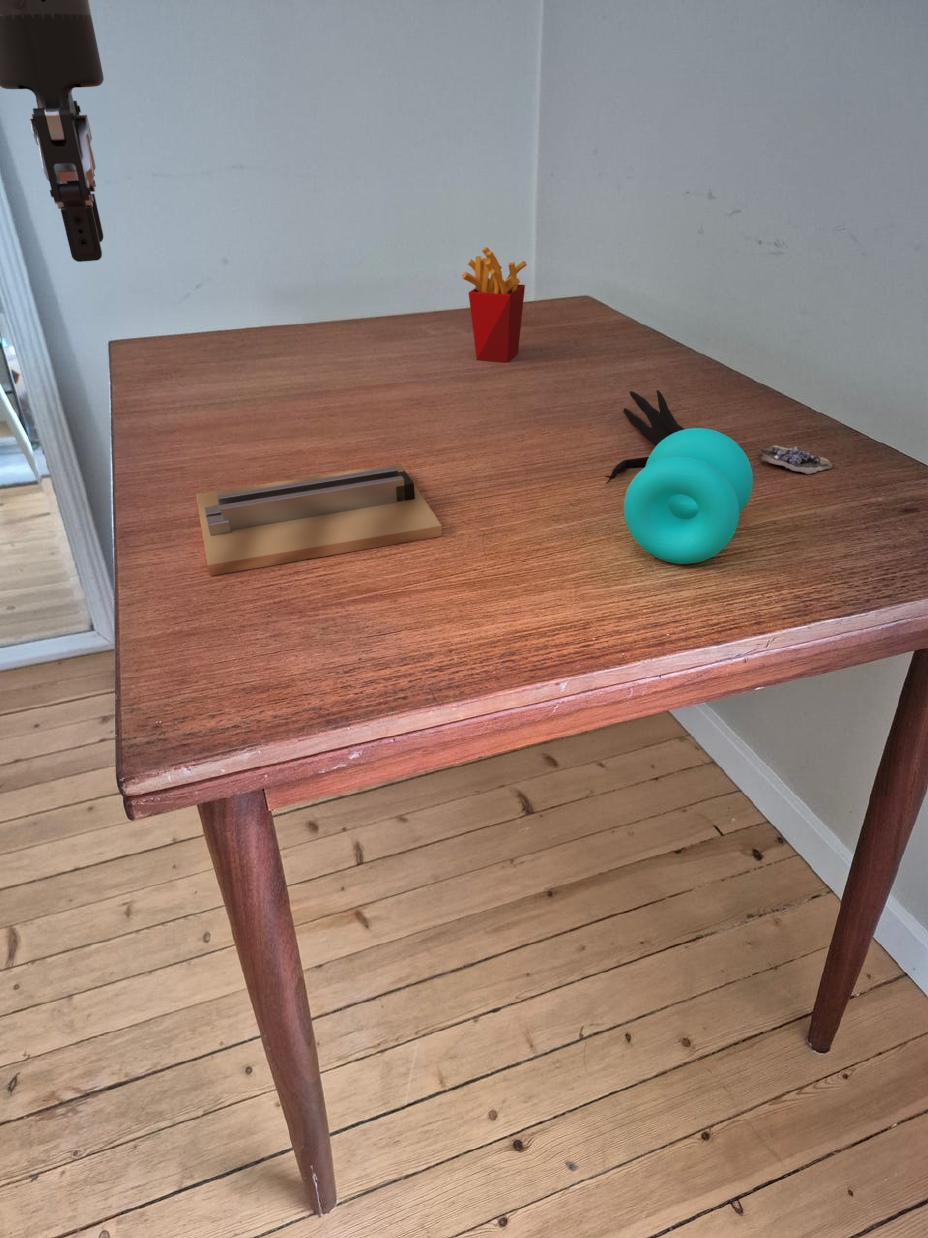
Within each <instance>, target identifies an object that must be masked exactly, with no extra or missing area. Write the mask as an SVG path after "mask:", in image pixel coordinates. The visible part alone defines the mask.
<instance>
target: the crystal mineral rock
mask: <svg viewBox="0 0 928 1238" xmlns="http://www.w3.org/2000/svg"><path fill="white" fill-rule="evenodd" d="M759 450H760V451H758V453H759V454H761V455H762V456H760V457H759V459H760V460H761V461H762V462H767V463H768V464H773V465H778V466H783V467H785V469H789V470H790V471H794V472H796V473H797V472H801V473H804V474H806V475H810V474H814V473H815V474H816V473H818V472H821V471H822V472H823V471H825V470H830V469H833V468H834V464H832V462H831V461H830V460H828V459H827V458H825V457H821V456H817V455H814V454H812V455H811V453H810V452H809V451H808V450H803V451H802V450H800V448H799V447H797V446H795V447H791V446H787V445H781V444H779V445H778V444H775V445H770V446H767V447H762V448H761V447H760V448H759Z"/></svg>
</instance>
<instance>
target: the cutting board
mask: <svg viewBox="0 0 928 1238" xmlns="http://www.w3.org/2000/svg"><path fill="white" fill-rule="evenodd" d="M392 467H396V468H397V470H398V472H402V471H406V470H405V468H404V467H403V465H402V463H394V464H386V465H380V466H379V465H378V466H374V467H367V468H360V469H354V470H346V471H339V472H332V473H326V474H319V475H313V476H307V477H301V478H293V479H287V480H279V481H273V482H266V483H260V484H259V483H258V484H254V485H246V486H240V487H233V488H226V489H220V490H213V491H207V492H199V493H196V494H195V499H196V505H197V510H198V516H199V522H200V528H201V535H202V540H203V546H204V547H203V548H204V553H205V559H206V565H207V570H208V575H209V577H213V576H218V575H224V574H230V573H235V572H241V571H247V570H253V569H259V568H265V567H271V566H276V565H282V564H283V565H284V564H289V563H294V562H301V561H306V560H311V559H317V558H322V557H329V556H334V555H335V556H336V555H340V554H341V555H342V554H346V553H350V552H351V553H352V552H357V551H364V550H370V549H375V548H382V547H387V546H392V545H397V544H398V545H399V544H406V543H410V542H411V543H412V542H416V541H422V540H428V539H433V538H438V537H439V538H440V537H443V525H442V523H441V522H440V521H439V519H438V517H437V516H436V514H435V513H434V512H433V510H432V508H431V507H430V506H429V504H428V503H427V500H426V499H425V498H424V497H423V495H422V494H421V492H420V491H419V489H418V487H417V486H416V484H414V491H415V499H412V500H407V501H401V502H395V503H390V504H384V505H378V506H372V507H366V508H360V509H354V510H348V511H342V512H336V513H330V514H324V515H319V516H313V517H307V518H301V519H295V520H289V521H283V522H277V523H271V524H265V525H259V526H254V527H248V528H242V529H236V530H231V532H230V533H224V534H218V535H212V536H211V535H210V532H209V527H208V523H207V518H206V514H205V509H204V507H207V506H213V505H219V503H218V498H217V495H221V494H228V493H234V492H240V491H247V490H253V489H259V488H266V487H272V486H278V485H285V484H291V483H297V482H303V481H310V480H316V479H322V478H329V477H335V476H341V475H348V474H354V473H360V472H367V471H373V470H379V469H386V468H392Z"/></svg>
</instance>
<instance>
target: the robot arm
mask: <svg viewBox="0 0 928 1238" xmlns="http://www.w3.org/2000/svg"><path fill="white" fill-rule="evenodd" d="M95 32H96V31H95V28H94V23H93V18H92V12H91V7H90V2H89V0H0V88H2V89H3V90H4V89H5V90H28V91H30V92H32V93H33V94H34V96H35V101H36V105H37V107H33V108H32V112H33V113H32V114H31V118H30V119H29V121H30V127H31V132H32V135H33V138H34V141H35V143H36V145H37V146H38V150H39V155H40V162H41V166H42V170H43V172H44V175H45V179H46V180H47V181H48V182H49V185H50V189H49V193H50V197H51V198H53V201H54V204H55V205H57V206H56V207H57V208H58V210H60V213H61V218H62V222H63V226H64V230H65V234H66V239H67V242H68V243H67V244H68V247H69V252H70V255H71V258H72V259H73V261H75V262H76V263H77V262H78V263H81V262H82V263H83V262H95V261H96V262H97V261H99V260H101V258H102V256H103V250H102V246H101V243H102V242H103V240H104V231H103V226H102V223H101V217H100V214H99V208H98V205H97V200H96V199H97V198H96V195H95V192H96V187H97V185H96V180H95V179H94V177H96V176H95V170H96V162H95V157H94V156H95V155H94V153H93V148H92V143H91V142H92V139H93V138H92V137H93V136H92V130H91V125H90V122H89V117H88V114H80V113H82V109H81V107H80V106H81V105H79V104H78V101H77V100H74V98H73V94H72V92H73V90H74V89H75V88H77V89H78V88H92V87H93V88H94V87H99V86H101V85H102V84H103V83H104V79H105V78H104V72H103V68H102V62H101V57H100V52H99V48H98V42H97V38H96V33H95Z"/></svg>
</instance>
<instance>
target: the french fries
mask: <svg viewBox="0 0 928 1238" xmlns="http://www.w3.org/2000/svg"><path fill="white" fill-rule="evenodd" d="M481 252H482V253H483V255H484V256H485V257H483V258H482V256H481V255H475V261H474V260H473V259H472V258H471V259H470V260H469V261H468V262H467V265H468V266H469V267H470V268H472V270H473V271H474V275H473V274H471V273H469V272H467V271H464V272H463V274H462V275H461V277H462V280H464V281H467V282H469V284H470V283H471V284H472V285H474V287H475V288H473V289H471V290H470V291H468V300H469V301H468V302H469V309H470V317H471V326H472V333H473V342H474V350H475V358H476V361H483V362H496V363H503V364H504V363H505V364H507V363H509V362H510V361H511V360H513V359H514V358H515V357H516V356H517V355H518V354H519V347H520V339H521V328H522V319H523V308H524V299H525V290H526V284H519V283H521V281H520V279H519V278H518V275H517V274H518V273H519V272H520V271H521V270H522V269H524V268H526V266H528V264H527V262H526V261H524V260H522V261H521V262H520V263H518V264H517V265H516V263H515V262H508V271H509V274H508V275H507V278H506V279H505V280H504V279H503V273H502V267H503V266H502V265H500V263H499V261H498V259H497V257H496V255H495V254H494V252H493V251H491V250H490V248H489V247H487V246H486V247H484V248H483V249H482V250H481ZM489 276H490V277H489Z"/></svg>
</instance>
